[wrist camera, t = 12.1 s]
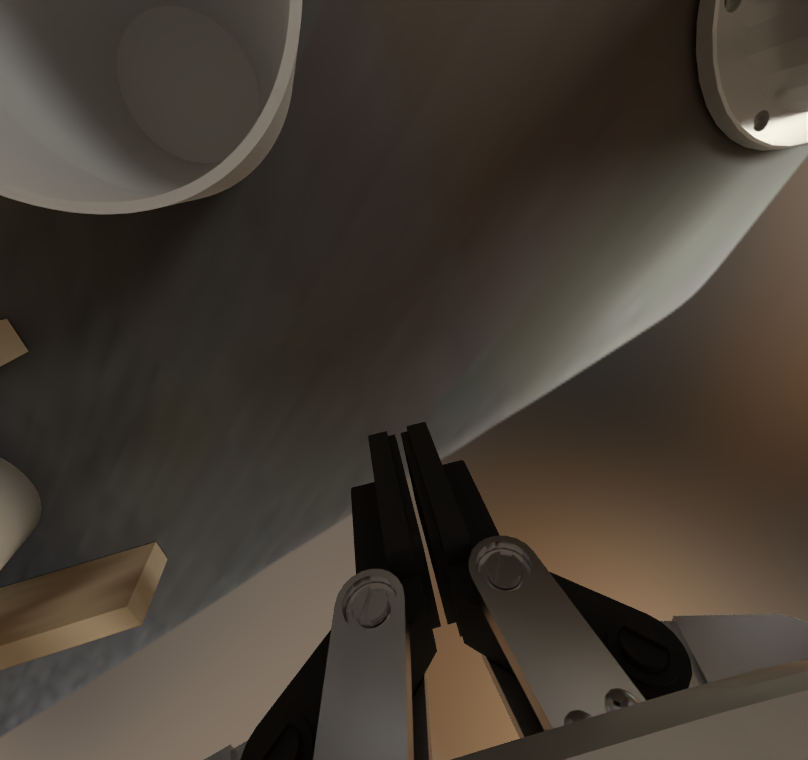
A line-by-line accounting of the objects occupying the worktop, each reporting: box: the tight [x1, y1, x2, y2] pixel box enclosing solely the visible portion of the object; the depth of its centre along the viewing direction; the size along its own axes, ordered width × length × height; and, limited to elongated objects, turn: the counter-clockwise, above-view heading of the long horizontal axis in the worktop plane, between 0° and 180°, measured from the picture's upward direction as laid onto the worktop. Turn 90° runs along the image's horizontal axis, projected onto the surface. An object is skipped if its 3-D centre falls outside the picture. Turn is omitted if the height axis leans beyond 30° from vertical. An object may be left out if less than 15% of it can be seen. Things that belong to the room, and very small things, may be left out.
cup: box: [0, 0, 302, 214], centre depth 10 cm, size 8×8×10 cm
